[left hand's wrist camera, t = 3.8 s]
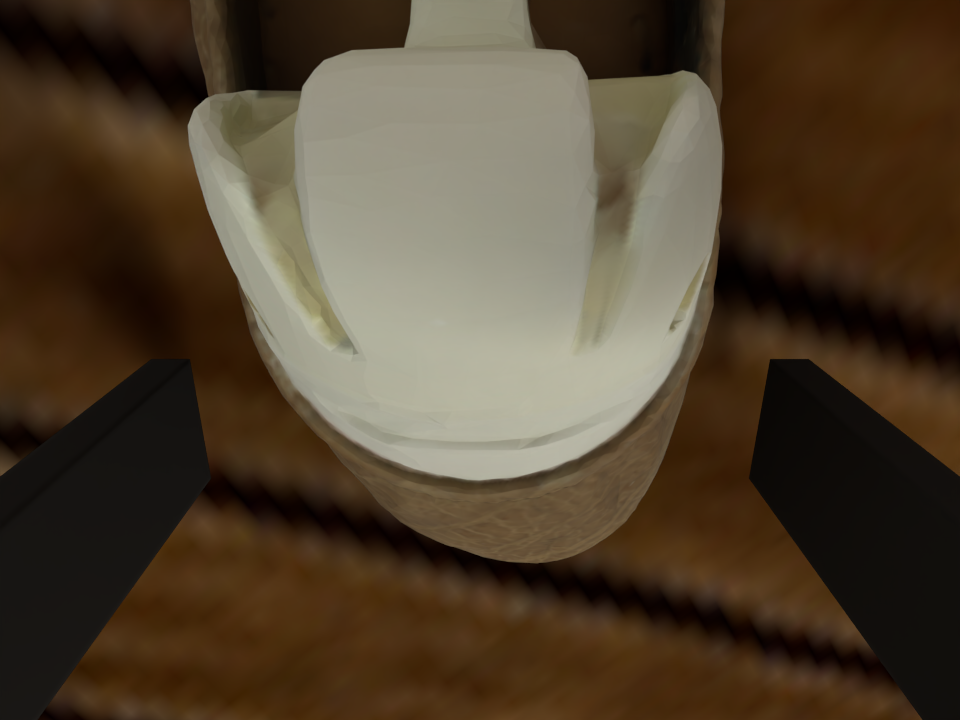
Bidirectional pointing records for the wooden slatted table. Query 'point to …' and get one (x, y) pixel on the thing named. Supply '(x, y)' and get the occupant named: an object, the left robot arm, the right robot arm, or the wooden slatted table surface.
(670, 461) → the wooden slatted table surface
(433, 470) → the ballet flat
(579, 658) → the wooden slatted table surface
